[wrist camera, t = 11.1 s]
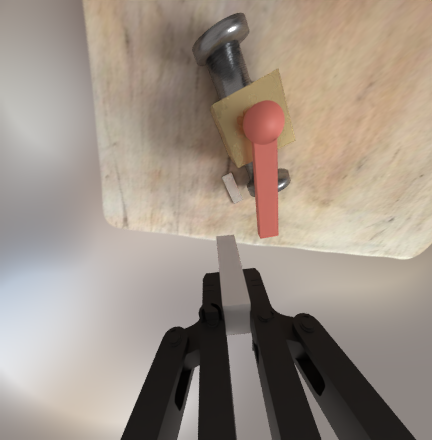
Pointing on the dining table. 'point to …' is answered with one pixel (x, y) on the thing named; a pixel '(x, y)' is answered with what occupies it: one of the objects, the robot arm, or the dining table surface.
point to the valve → (239, 96)
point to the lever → (265, 161)
